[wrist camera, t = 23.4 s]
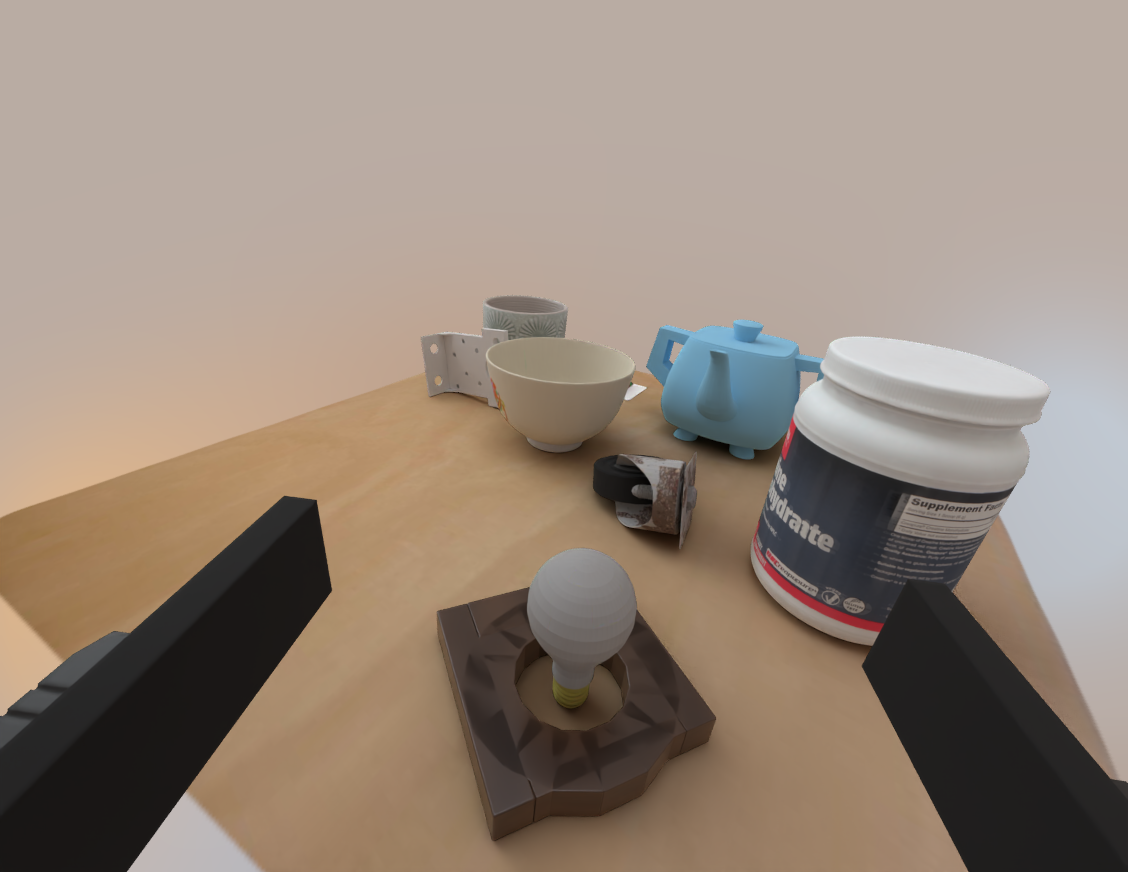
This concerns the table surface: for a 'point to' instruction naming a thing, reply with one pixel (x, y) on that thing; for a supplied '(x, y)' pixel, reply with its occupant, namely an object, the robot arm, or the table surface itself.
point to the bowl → (558, 388)
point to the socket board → (545, 753)
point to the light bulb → (580, 617)
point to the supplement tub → (889, 478)
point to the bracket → (461, 362)
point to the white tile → (633, 391)
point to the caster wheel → (649, 491)
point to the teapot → (730, 384)
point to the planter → (525, 316)
